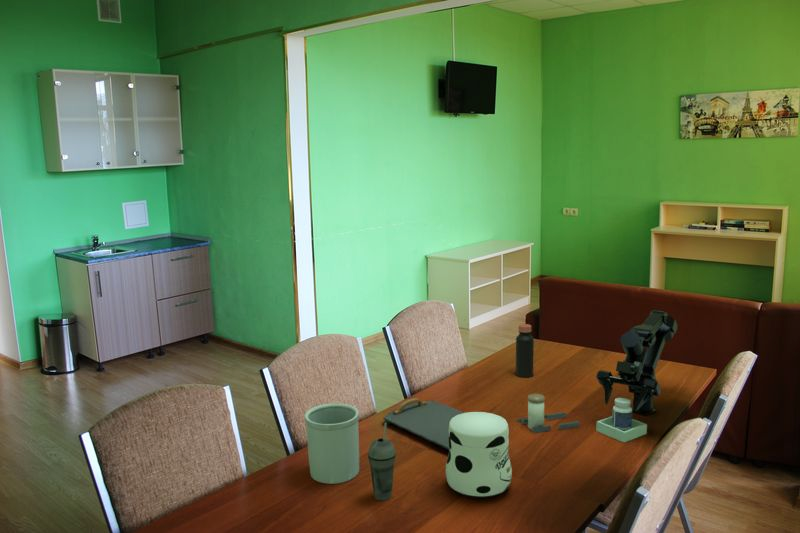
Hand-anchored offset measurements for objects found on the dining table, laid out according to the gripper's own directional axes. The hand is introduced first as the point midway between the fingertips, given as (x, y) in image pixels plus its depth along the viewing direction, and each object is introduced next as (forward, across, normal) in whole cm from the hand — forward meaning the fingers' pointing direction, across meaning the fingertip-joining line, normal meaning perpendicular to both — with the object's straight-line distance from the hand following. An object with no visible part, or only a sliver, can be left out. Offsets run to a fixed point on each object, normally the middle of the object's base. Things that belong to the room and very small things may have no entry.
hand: (620, 407), depth 208 cm
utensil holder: (+55, -56, -43) cm, 89 cm away
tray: (+5, 0, +7) cm, 9 cm away
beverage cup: (+57, -37, -44) cm, 81 cm away
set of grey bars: (+10, -22, +3) cm, 24 cm away
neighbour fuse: (+13, -24, -1) cm, 27 cm away
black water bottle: (-17, -49, +30) cm, 60 cm away
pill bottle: (+5, 0, +7) cm, 8 cm away
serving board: (+27, -47, -13) cm, 56 cm away
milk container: (+44, -19, -32) cm, 57 cm away
